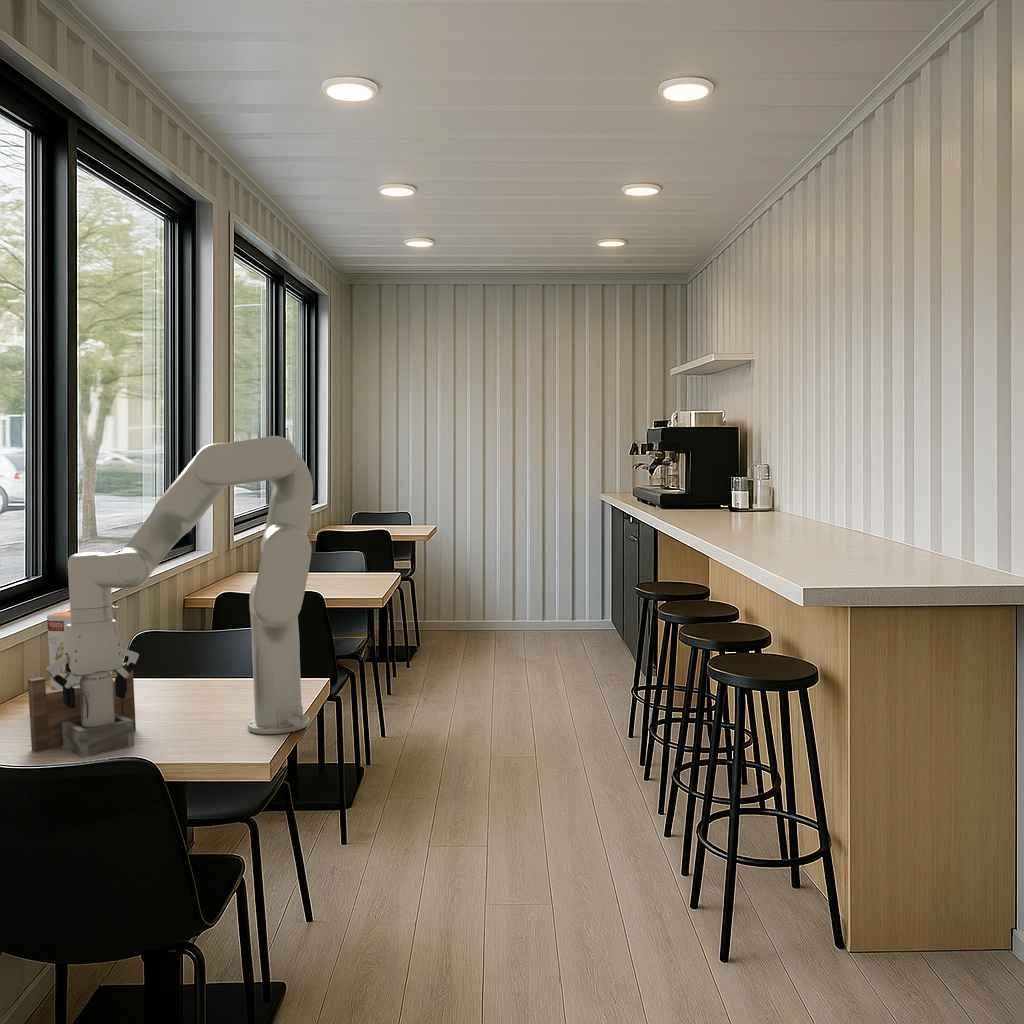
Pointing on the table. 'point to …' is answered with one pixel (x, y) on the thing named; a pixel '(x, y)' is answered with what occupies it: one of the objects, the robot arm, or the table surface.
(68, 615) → the cracker box
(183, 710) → the table surface
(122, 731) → the wooden holder with tray
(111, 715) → the energy drink can
